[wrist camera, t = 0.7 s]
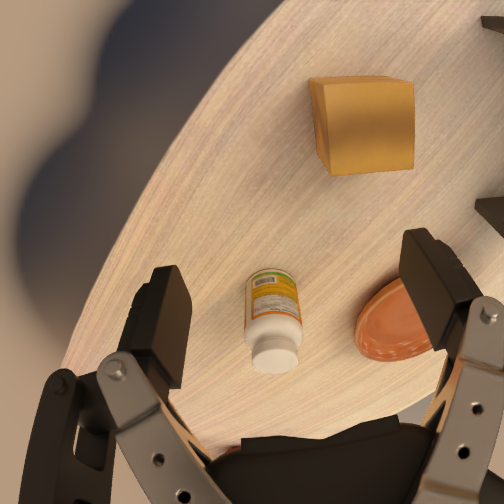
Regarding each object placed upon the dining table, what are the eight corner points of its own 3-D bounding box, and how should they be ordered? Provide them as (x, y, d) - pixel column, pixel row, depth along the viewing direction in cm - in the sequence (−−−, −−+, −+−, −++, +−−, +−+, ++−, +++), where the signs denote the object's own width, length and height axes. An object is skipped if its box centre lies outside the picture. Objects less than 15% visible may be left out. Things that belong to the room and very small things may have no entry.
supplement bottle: (277, 311, 35) (282, 384, 27) (235, 293, 34) (232, 368, 26) (306, 280, 33) (320, 355, 25) (263, 259, 31) (266, 336, 23)
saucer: (371, 360, 42) (375, 376, 40) (330, 299, 34) (335, 318, 32) (464, 312, 37) (472, 327, 34) (452, 234, 29) (465, 250, 27)
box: (308, 78, 21) (322, 84, 17) (385, 75, 20) (414, 82, 16) (317, 154, 25) (330, 177, 21) (388, 148, 24) (413, 169, 20)
